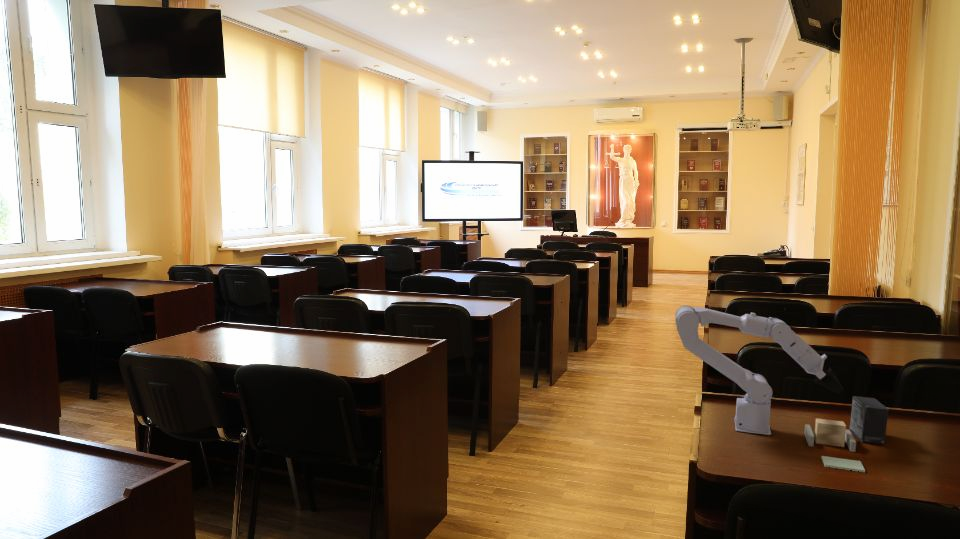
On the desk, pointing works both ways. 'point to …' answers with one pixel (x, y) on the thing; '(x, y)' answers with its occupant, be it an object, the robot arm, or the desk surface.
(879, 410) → the small box
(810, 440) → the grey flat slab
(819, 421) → the block
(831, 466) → the mat
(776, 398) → the desk surface
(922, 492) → the desk surface
